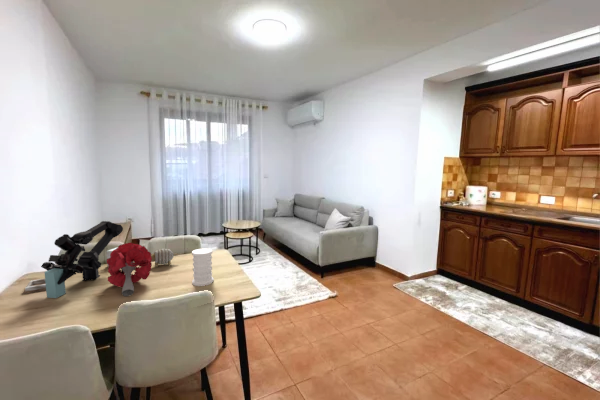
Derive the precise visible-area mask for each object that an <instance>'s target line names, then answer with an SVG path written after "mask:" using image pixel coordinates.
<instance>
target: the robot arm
mask: <svg viewBox="0 0 600 400" xmlns="http://www.w3.org/2000/svg"><path fill="white" fill-rule="evenodd" d="M123 230H124V228H123V226H122V225H121V224H118V223H114V222H112V221H108V220H107V221H106V220H105V221H104V220H102V221H100V222H99V223H97V224H96V225H94V226H92V227H91V228H89V229H87V230H85V231H80V232H78V233H77V232H76V233H75V234H73V236H70V234H67V233H66V234H63V235H62V236H59V237H57V238H56V239H55V241H54V245H55V246H56V247H57V248H59V249H61V250H62V251H64V253H61V254H60V255H55V254H50V255H49V257H48V261H45V262H43V263H42V265H40V267H41V268H42V269H45V270H46V271H49V270H51V269H54V268H58V269H63V274H62V276H61V278H60V279H59V281H58V283H57V284H58V285H60V284H61V283H62V282H64V281H67V280H68V279H69V278H72V277H73V276H75V275H77V274H82V282H87V281H95V280H97V279H98V278H99V277H100V276H101V274H99V269H100V268H101V266H102V263H101V261H99V260H100V259H99V258H100V257H99V256H100V255H101V253H102V252H103V251H104V250H105V248H106V247H107V246H108V245H109V243H110V242H111V241H113V240H112V239H114V238H116V237H118V236H120V235H121V234H122V233H123ZM102 232H104V235H103V236H101V238H100V239H99V240H98V242H96V244H94V246H93V247H92V248H91V250H89V251H86V248H85V246H84V245H89V243H91V242H92V241H93V239H94V237H95V236H97V235H99V234H101V233H102ZM81 252H82V254H81V255H80V253H81ZM79 255H80V256H79ZM75 262H77V263H75Z"/></svg>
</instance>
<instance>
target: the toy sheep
mask: <svg viewBox="0 0 600 400" xmlns="http://www.w3.org/2000/svg"><path fill="white" fill-rule="evenodd" d="M178 255H179V254H178V253H174V252H173V251H172V250H171V249H170V248H160V249H157V250H154V252H153V253H151V257H152V261H151V263H154V265H155V267H156V268H159V265H162V266H164V265H167V264H168V266H171V265H172V262H171V261H172V260H173V258H174V257H177V256H178ZM170 264H171V265H170Z"/></svg>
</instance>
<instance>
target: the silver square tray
mask: <svg viewBox="0 0 600 400" xmlns="http://www.w3.org/2000/svg"><path fill="white" fill-rule="evenodd" d="M43 291H46V283H45V278H39V279H34V280H29V282H28V283H27V284H26V286H25V288H24V290H23V292H22V294H23V295H24V294H31V293H35V292H36V293H37V292H43Z"/></svg>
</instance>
